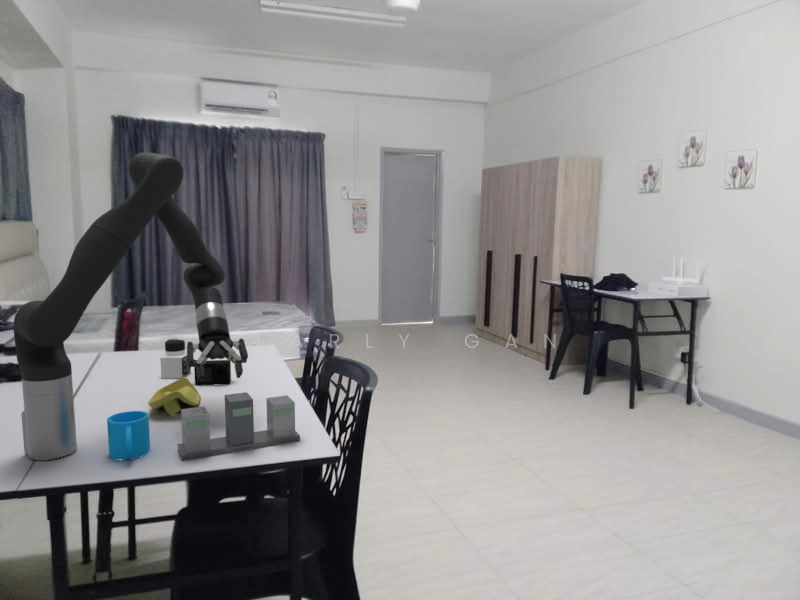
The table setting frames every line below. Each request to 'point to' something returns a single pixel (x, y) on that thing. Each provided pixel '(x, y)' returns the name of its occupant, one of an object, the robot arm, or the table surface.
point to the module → (239, 418)
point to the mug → (128, 435)
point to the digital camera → (215, 373)
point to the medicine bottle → (174, 360)
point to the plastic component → (175, 396)
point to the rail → (201, 445)
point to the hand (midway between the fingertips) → (221, 377)
